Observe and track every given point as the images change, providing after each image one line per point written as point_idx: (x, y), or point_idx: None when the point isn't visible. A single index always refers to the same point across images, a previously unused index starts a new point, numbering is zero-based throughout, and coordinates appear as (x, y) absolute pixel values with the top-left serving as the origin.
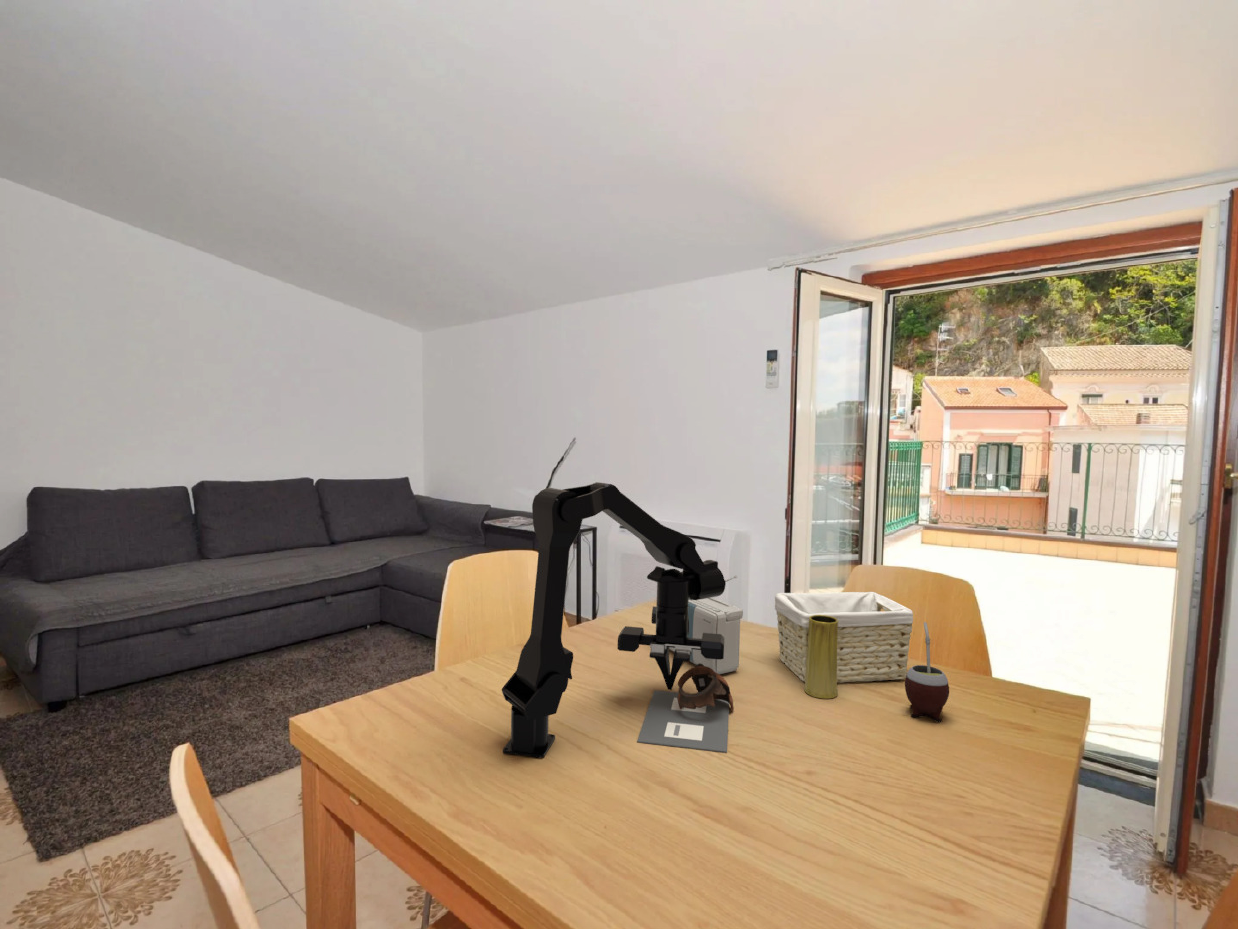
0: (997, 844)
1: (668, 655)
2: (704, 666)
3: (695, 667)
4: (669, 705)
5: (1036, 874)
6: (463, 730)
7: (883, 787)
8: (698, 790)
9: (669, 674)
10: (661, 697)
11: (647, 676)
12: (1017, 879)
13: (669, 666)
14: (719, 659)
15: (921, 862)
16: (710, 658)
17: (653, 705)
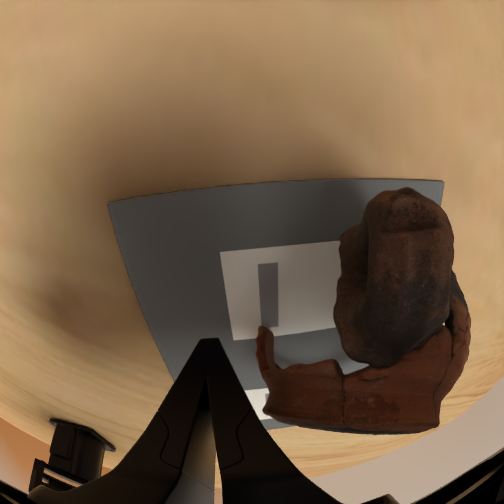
0: (492, 382)
1: (185, 502)
2: (420, 427)
3: (373, 430)
4: (220, 319)
5: (487, 391)
6: (11, 404)
7: (486, 368)
8: (309, 451)
9: (211, 421)
10: (165, 268)
11: (42, 55)
12: (476, 400)
13: (197, 437)
14: (458, 476)
15: (444, 418)
16: (429, 495)
17: (165, 332)
